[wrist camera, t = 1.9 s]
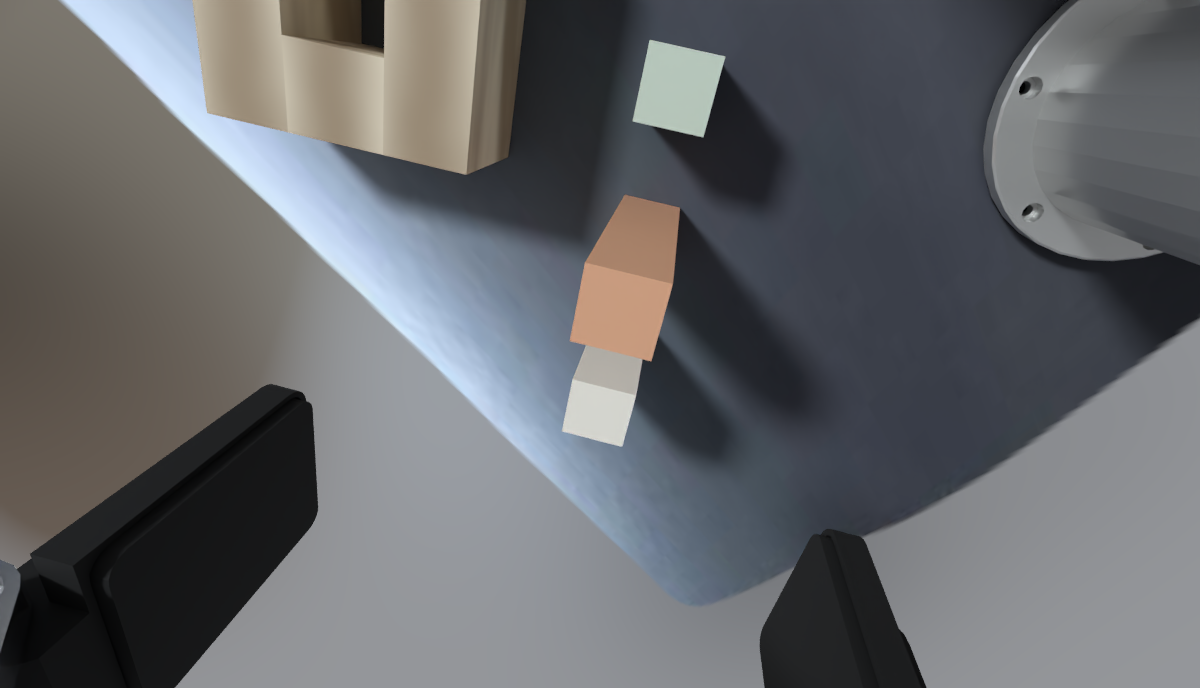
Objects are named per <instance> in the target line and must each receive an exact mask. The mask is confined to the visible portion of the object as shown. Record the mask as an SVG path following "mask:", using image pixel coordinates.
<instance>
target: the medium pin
mask: <svg viewBox="0 0 1200 688" xmlns="http://www.w3.org/2000/svg"><path fill="white" fill-rule="evenodd" d="M642 360H643V359H640V358H636V357H632V356H628V355H624V354H620V353H616V352H612V351H608V350H604V349H600V348H596V347H592V346H588V345H586V347H585V350H584V352H583V355H582V357H581V360H580V362H579V365H578V367H577V370H576V372H575V375H574V377H573V380H572V385H571V390H570V395H569V399H568V404H567V409H566V414H565V419H564V424H563V429H562V431H563V432H567V433H571V434H575V435H578V436H582V437H586V438H590V439H594V440H598V441H602V442H605V443H609V444H613V445H617V446H621V447H622V445H623V442H624V438H625V434H626V431H627V427H628V424H629V420H630V416H631V413H632V409H633V405H634V402H635V398H636V394H637V388H638V383H639V377H640V371H641V366H642Z"/></svg>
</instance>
